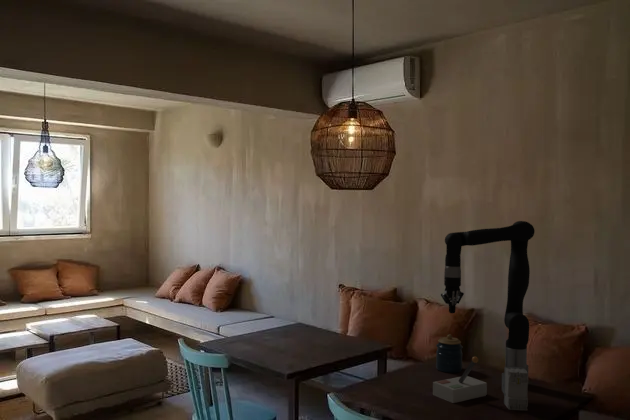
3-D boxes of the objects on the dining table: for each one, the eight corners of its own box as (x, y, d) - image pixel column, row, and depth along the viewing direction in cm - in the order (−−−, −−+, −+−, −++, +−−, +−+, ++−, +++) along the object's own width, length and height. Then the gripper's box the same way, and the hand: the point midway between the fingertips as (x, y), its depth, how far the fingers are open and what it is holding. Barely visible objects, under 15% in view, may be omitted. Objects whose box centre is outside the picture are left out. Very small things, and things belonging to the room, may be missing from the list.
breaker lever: (460, 378, 248) (476, 354, 241) (464, 383, 246) (480, 359, 239) (456, 379, 247) (472, 355, 239) (460, 384, 245) (476, 360, 237)
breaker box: (465, 387, 257) (466, 374, 257) (486, 395, 247) (486, 382, 247) (432, 394, 247) (433, 381, 247) (453, 403, 237) (453, 389, 237)
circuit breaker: (518, 398, 244) (519, 363, 244) (527, 410, 230) (528, 373, 230) (500, 397, 245) (501, 362, 244) (508, 409, 230) (509, 372, 230)
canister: (436, 372, 281) (436, 336, 281) (435, 365, 294) (435, 330, 294) (463, 374, 279) (464, 337, 279) (461, 366, 292) (461, 332, 291)
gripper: (448, 277, 259) (447, 315, 260) (468, 276, 266) (468, 313, 266) (436, 275, 266) (435, 313, 266) (457, 274, 273) (456, 310, 273)
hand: (452, 313), depth 266 cm, fingers closed
